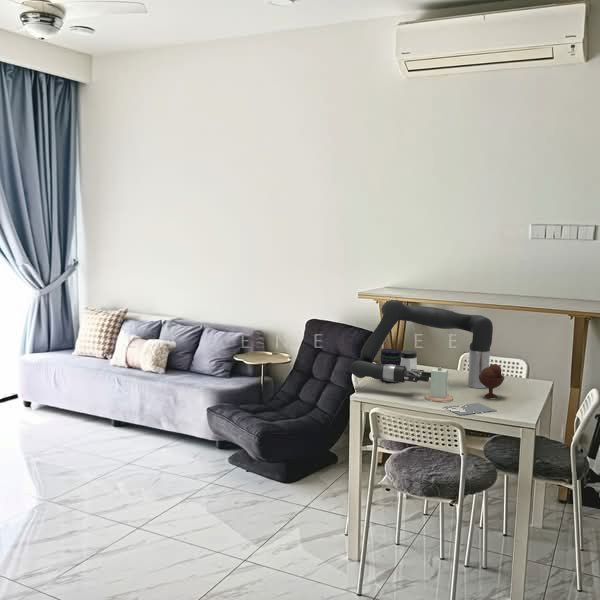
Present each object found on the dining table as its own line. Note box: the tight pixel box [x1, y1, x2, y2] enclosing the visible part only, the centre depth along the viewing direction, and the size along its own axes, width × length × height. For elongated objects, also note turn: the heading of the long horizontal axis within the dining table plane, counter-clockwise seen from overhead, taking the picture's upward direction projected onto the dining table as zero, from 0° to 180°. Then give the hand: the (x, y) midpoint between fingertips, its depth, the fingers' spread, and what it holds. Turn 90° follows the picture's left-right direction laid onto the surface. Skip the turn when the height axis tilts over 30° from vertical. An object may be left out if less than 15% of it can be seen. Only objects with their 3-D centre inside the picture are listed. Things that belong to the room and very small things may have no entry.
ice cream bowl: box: [479, 363, 505, 399], centre depth 298 cm, size 11×11×15 cm
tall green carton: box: [429, 366, 449, 399], centre depth 294 cm, size 6×6×13 cm
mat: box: [443, 402, 497, 417], centre depth 279 cm, size 18×12×1 cm, turn 113°
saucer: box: [424, 392, 454, 402], centre depth 295 cm, size 12×12×1 cm
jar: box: [400, 349, 418, 371], centre depth 337 cm, size 9×8×12 cm
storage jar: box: [380, 348, 402, 384], centre depth 325 cm, size 10×10×15 cm
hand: (430, 377), depth 295 cm, fingers open, 8 cm apart
